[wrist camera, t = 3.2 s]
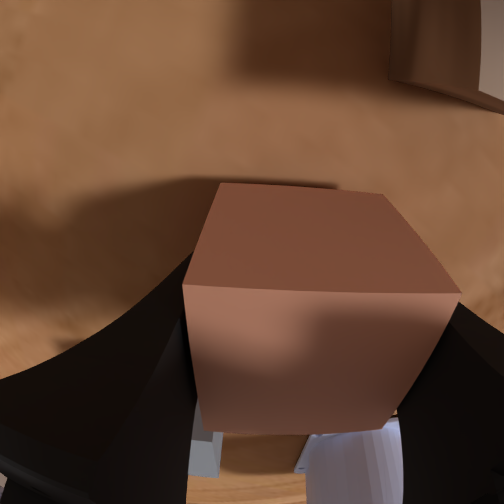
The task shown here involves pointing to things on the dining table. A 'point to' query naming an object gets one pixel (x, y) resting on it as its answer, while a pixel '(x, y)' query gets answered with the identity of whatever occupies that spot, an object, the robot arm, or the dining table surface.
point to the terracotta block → (309, 310)
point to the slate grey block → (204, 449)
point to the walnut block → (450, 48)
